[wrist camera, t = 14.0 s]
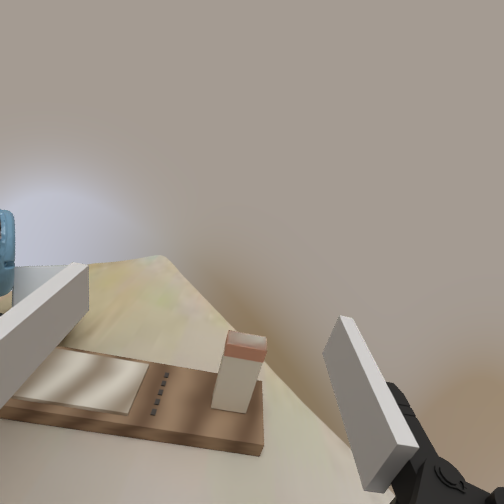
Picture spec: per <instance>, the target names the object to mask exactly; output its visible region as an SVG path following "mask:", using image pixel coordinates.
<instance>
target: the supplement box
mask: <svg viewBox="0 0 504 504" xmlns="http://www.w3.org/2000/svg"><path fill="white" fill-rule="evenodd" d="M67 266H68V265H57V266H25V267H15V273H14V285H13V291H12V307H14V306H15V305H16V304H18V303H19V302H20V301H22V300H23V299H24V298H26V297H27V296H28V295H30V294H31V293H32V292H34V291H35V290H36V289H38V288H39V287H40V286H42V285H43V284H44V283H46V282H47V281H48V280H50V279H51V278H52V277H54V276H55V275H56V274H58V273H59V272H60V271H62V270H63V269H64V268H66V267H67Z"/></svg>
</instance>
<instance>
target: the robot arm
mask: <svg viewBox="0 0 504 504" xmlns="http://www.w3.org/2000/svg"><path fill="white" fill-rule="evenodd" d="M14 261H15V223H14V216H13V214H12V213H11V212H10V211H7V210H1V209H0V296H4V295H6V294H8V293H9V292H10V291H11V290H12V288H13V285H14V273H15V263H14ZM88 311H89V265H84V264H79V263H73V262H72V263H71V264H70V265H68V266H67V267H66V268H64V269H63V270H62V271H60V272H59V273H58V274H56V275H55V276H54V277H52V278H51V279H50V280H48V281H47V282H46V283H44V284H43V285H42V286H40V287H39V288H38V289H36V290H35V291H34V292H32V293H31V294H30V295H28V296H27V297H26V298H24V299H23V300H22V301H20V302H19V303H18V304H16V305H15V306H14V307H12V308H11V309H10V310H8V311H7V312H6V313H4V314H2V313H0V409H1V408H2V407H3V406H4V405H5V404H6V402H7V401H8V400H9V399H10V398H11V397H12V396H13V395H14V393H15V392H16V391H17V390H18V389H19V388H20V387H21V386H22V385H23V383H24V382H25V381H26V380H27V379H28V378H29V377H30V376H31V374H32V373H33V372H34V371H35V370H36V369H37V368H38V367H39V366H40V364H41V363H42V362H43V361H44V360H45V359H46V358H47V357H48V355H49V354H50V353H51V352H52V351H53V350H54V349H55V348H56V347H57V345H58V344H59V343H60V342H61V341H62V340H63V339H64V338H65V336H66V335H67V334H68V333H69V332H70V331H71V330H72V329H73V327H74V326H75V325H76V324H77V323H78V322H79V321H80V320H81V319H82V317H83V316H84V315H85V314H86V313H87V312H88ZM323 357H324V360H325V363H326V367H327V370H328V374H329V377H330V380H331V383H332V387H333V390H334V393H335V397H336V400H337V403H338V406H339V409H340V413H341V416H342V420H343V423H344V426H345V430H346V433H347V436H348V440H349V442H350V446H351V450H352V453H353V456H354V459H355V463H356V466H357V469H358V473H359V476H360V479H361V483H362V486H363V489H364V491H369V492H377V493H385V491H386V490H387V489H388V487H389V486H390V485H392V487H393V490H394V492H395V495H396V496H395V498H394V499H393V500H392V501H391V502H390V504H504V487H498V488H496V489H495V490H494V491H493V492H492V493H491V494H490V493H488V492H486V491H484V490H481V489H480V488H478V487H476V486H474V485H471V484H469V483H467V482H466V481H465V479H464V478H463V476H462V475H461V474H460V472H459V471H458V470H457V469H456V468H455V467H454V466H453V465H452V464H450V463H449V462H448V461H446V460H445V459H443V458H441V457H439V456H438V455H437V453H436V451H435V449H434V447H433V446H432V444H431V442H430V440H429V439H428V437H427V435H426V433H425V432H424V430H423V428H422V426H421V424H420V423H419V421H418V419H417V418H416V417H415V414H414V412H413V410H412V408H410V405H409V403H408V401H407V399H406V398H405V396H404V394H403V393H402V392H401V391H400V390H399V389H398V387H397V386H396V385H395V384H394V383H390V382H385V380H384V378H383V376H382V374H381V372H380V370H379V368H378V366H377V364H376V363H375V360H374V359H373V356H372V355H371V353H370V351H369V349H368V347H367V345H366V343H365V341H364V339H363V337H362V335H361V333H360V331H359V329H358V327H357V325H356V324H355V322H354V320H353V318H350V317H344V316H339V317H338V319H337V322H336V324H335V326H334V328H333V331H332V333H331V335H330V337H329V340H328V342H327V345H326V346H325V349H324V351H323Z"/></svg>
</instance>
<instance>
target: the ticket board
mask: <svg viewBox="0 0 504 504" xmlns="http://www.w3.org/2000/svg"><path fill="white" fill-rule="evenodd" d="M217 376H218V373H212V372H206V371H200V370H194V369H189V368H183V367H177V366H171V365H165V364H160V363H154V362H148V361H142V360H136V359H131V358H125V357H119V356H113V355H108V354H102V353H96V352H90V351H84V350H79V349H73V348H67V347H61V346H57V347H56V348H55V349H54V350H53V351H52V352H51V353H50V354H49V355H48V357H47V358H46V359H45V360H44V361H43V362H42V363H41V364H40V366H39V367H38V368H37V369H36V370H35V371H34V372H33V373H32V374H31V376H30V377H29V378H28V379H27V380H26V381H25V382H24V383H23V385H22V386H21V387H20V388H19V389H18V390H17V391H16V392H15V393H14V395H13V396H12V397H11V398H10V399H9V400H8V401H7V402H6V404H5V405H4V406H3V407H2V408H1V409H0V418H3V419H10V420H17V421H23V422H30V423H37V424H44V425H50V426H57V427H64V428H71V429H78V430H84V431H91V432H98V433H105V434H111V435H118V436H125V437H132V438H138V439H145V440H152V441H159V442H165V443H172V444H179V445H186V446H193V447H199V448H206V449H213V450H220V451H226V452H233V453H240V454H247V455H253V456H260V454H261V451H262V449H263V446H264V429H263V398H262V381H258V380H257V381H256V384H255V387H254V390H253V393H252V396H251V399H250V402H249V405H248V408H247V411H246V414H245V413H239V412H233V411H227V410H220V409H214V408H211V404H212V397H213V392H214V388H215V384H216V380H217Z"/></svg>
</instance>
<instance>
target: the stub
mask: <svg viewBox="0 0 504 504" xmlns="http://www.w3.org/2000/svg"><path fill="white" fill-rule="evenodd" d="M266 342H267V341H266V337H262V336H257V335H252V334H247V333H241V332H236V331H231V330H228V334H227V338H226V343H225V348H224V352H223V356H222V360H221V364H220V368H219V372H218V376H217V380H216V384H215V388H214V392H213V397H212V404H211V408H214V409H220V410H227V411H233V412H239V413H245V414H246V411H247V408H248V405H249V402H250V399H251V396H252V393H253V390H254V387H255V384H256V381H257V378H258V375H259V372H260V369H261V366H262V363H263V362H264V359H265V356H266V353H267V343H266Z"/></svg>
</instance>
